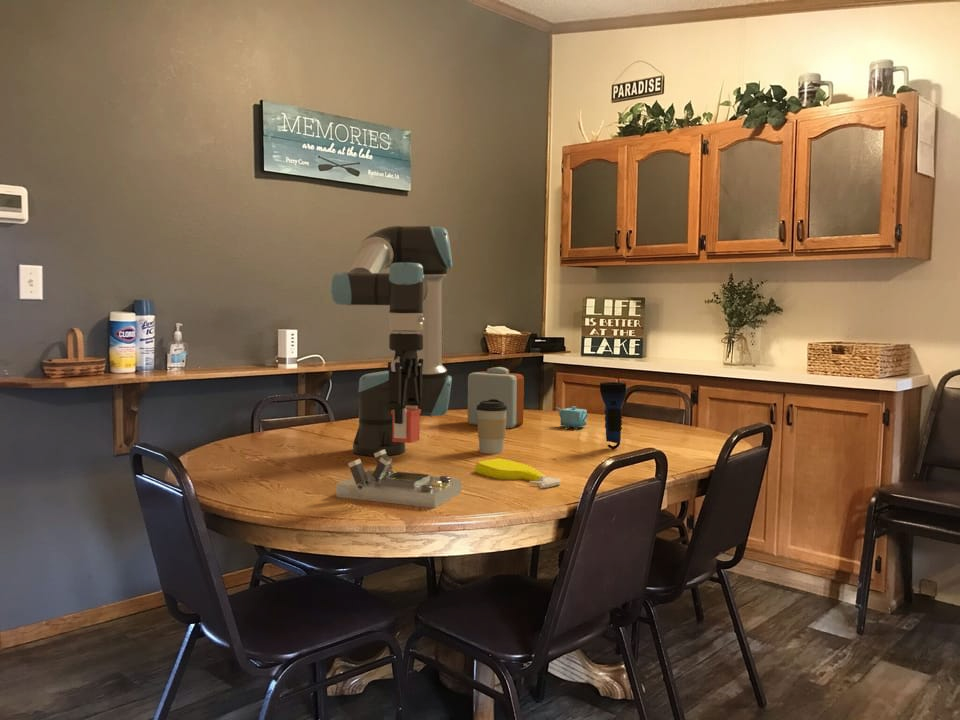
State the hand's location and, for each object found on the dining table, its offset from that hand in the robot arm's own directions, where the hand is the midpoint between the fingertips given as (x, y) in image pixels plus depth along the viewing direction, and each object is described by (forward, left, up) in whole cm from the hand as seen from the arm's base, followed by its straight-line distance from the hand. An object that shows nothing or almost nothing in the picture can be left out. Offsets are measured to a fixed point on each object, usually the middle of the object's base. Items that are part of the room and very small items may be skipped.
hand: (405, 435), depth 175 cm
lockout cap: (0, 0, -1) cm, 1 cm away
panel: (-2, 0, -14) cm, 14 cm away
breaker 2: (-8, +6, -11) cm, 14 cm away
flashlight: (+32, +74, -14) cm, 82 cm away
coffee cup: (0, +56, -14) cm, 58 cm away
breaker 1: (-8, -6, -11) cm, 14 cm away
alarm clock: (-15, +102, -14) cm, 104 cm away
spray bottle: (+18, +27, -14) cm, 36 cm away
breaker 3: (-8, 0, -11) cm, 13 cm away
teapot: (+11, +108, -14) cm, 110 cm away
